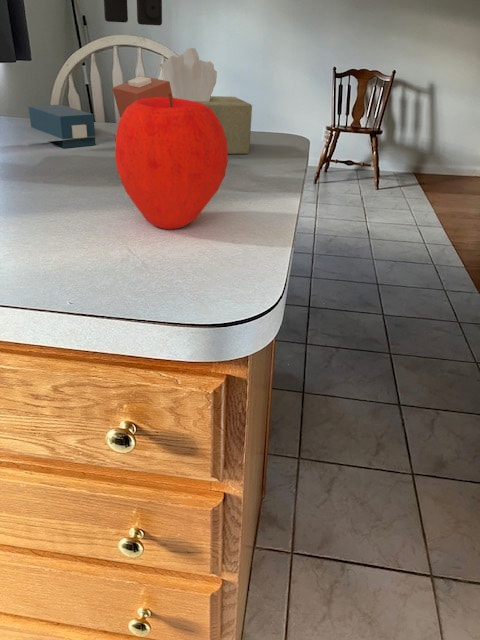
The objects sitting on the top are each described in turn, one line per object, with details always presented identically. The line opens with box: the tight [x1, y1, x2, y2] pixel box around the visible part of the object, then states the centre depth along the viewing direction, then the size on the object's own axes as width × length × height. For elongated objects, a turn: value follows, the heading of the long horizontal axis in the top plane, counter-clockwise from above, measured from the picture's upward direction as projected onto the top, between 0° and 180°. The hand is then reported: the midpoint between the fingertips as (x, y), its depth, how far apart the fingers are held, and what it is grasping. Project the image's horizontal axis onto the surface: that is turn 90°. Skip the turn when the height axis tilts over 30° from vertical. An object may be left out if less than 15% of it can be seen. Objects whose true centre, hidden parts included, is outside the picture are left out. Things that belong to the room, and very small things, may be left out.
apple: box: [114, 94, 229, 230], centre depth 57 cm, size 12×12×13 cm
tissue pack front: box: [111, 76, 173, 119], centre depth 73 cm, size 13×6×5 cm
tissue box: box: [160, 47, 253, 155], centre depth 91 cm, size 19×10×16 cm, turn 107°
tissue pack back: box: [28, 104, 97, 149], centre depth 94 cm, size 13×6×5 cm, turn 42°
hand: (132, 23), depth 71 cm, fingers open, 9 cm apart
